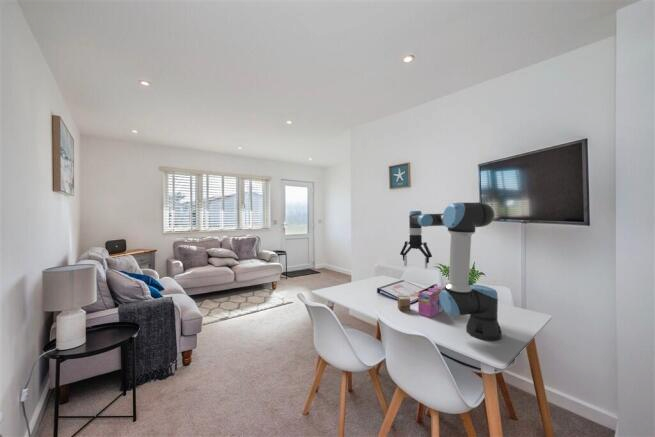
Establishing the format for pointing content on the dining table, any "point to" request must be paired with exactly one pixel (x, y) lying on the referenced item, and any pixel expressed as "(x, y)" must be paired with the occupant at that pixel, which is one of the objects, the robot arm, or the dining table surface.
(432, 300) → the gum box
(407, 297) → the walnut block
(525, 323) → the dining table surface
